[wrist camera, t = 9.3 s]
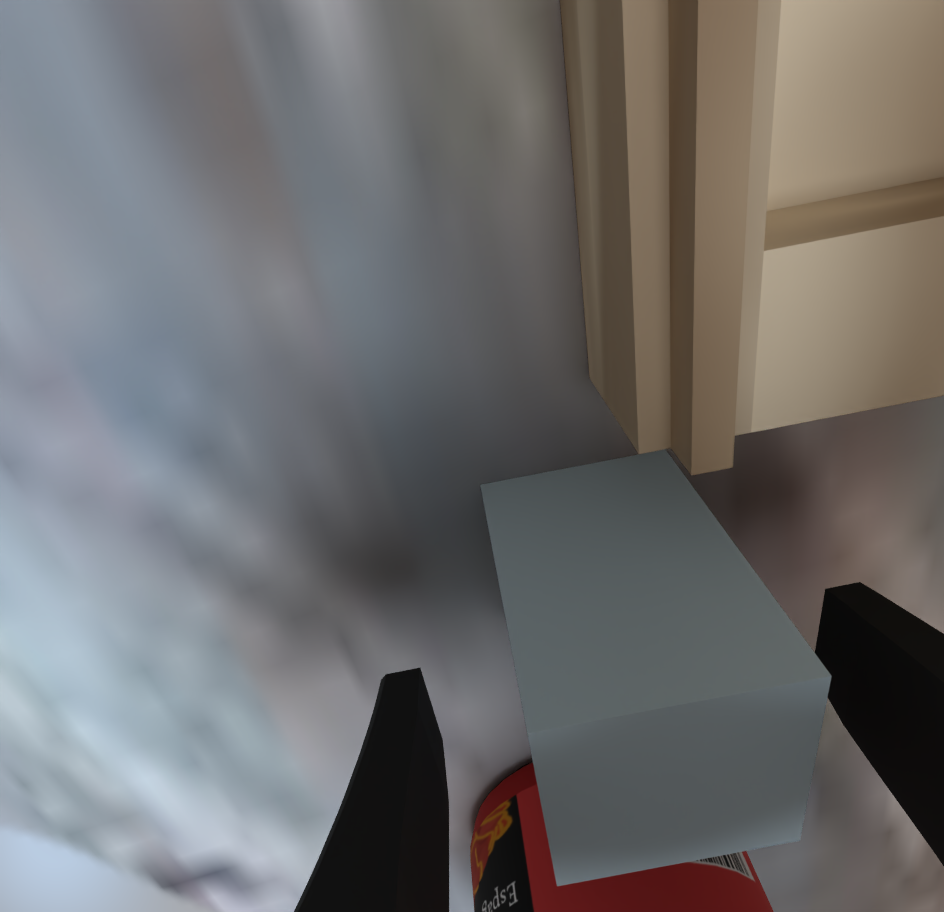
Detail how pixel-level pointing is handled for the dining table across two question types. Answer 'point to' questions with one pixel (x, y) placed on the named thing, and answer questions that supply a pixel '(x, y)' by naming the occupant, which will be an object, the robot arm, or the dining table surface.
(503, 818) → the canned food
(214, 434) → the dining table surface
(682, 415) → the pedestal
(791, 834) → the block
